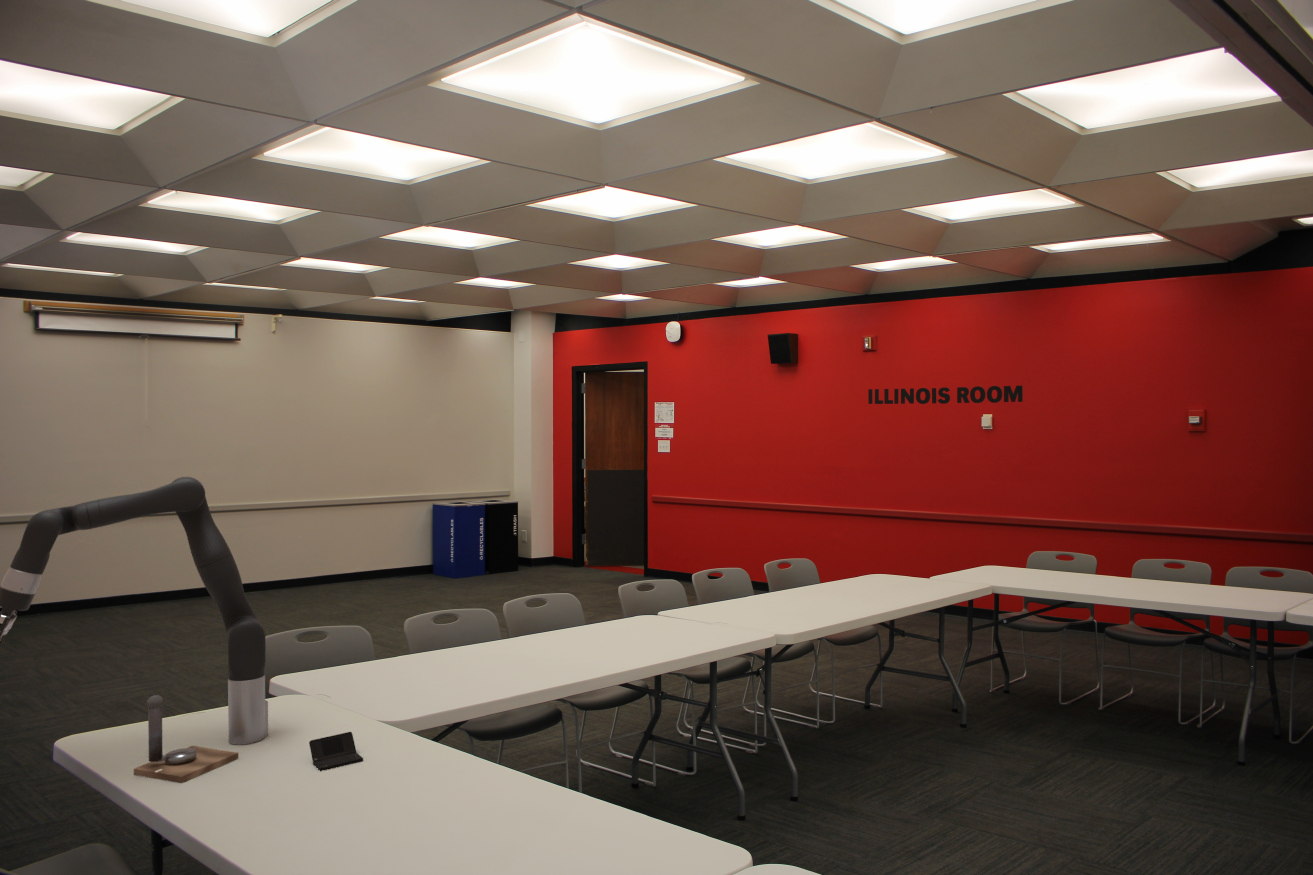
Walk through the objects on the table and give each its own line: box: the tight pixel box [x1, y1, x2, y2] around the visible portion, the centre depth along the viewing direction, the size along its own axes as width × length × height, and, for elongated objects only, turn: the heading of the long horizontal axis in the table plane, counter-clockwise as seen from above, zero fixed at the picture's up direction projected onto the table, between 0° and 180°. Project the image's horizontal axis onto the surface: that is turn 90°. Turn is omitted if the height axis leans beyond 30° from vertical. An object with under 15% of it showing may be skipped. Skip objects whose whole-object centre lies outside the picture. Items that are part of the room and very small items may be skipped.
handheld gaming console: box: [308, 731, 364, 772], centre depth 222 cm, size 12×7×10 cm
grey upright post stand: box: [146, 694, 196, 764], centre depth 218 cm, size 11×7×17 cm, turn 124°
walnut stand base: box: [133, 745, 239, 784], centre depth 219 cm, size 17×16×2 cm
